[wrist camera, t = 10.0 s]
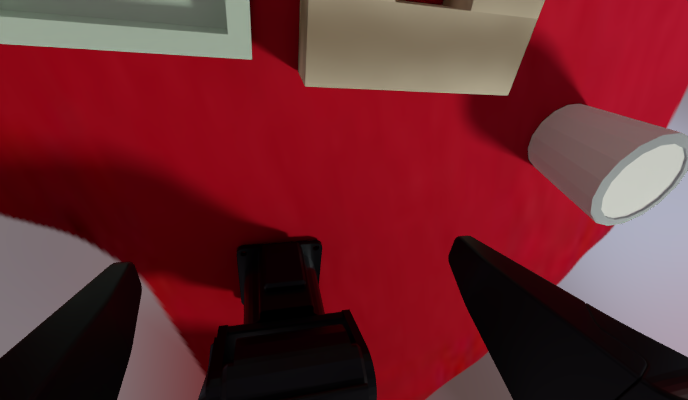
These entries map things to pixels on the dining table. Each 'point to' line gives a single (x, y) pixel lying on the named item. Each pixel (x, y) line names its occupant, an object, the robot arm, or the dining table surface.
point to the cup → (608, 161)
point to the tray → (131, 26)
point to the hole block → (415, 44)
